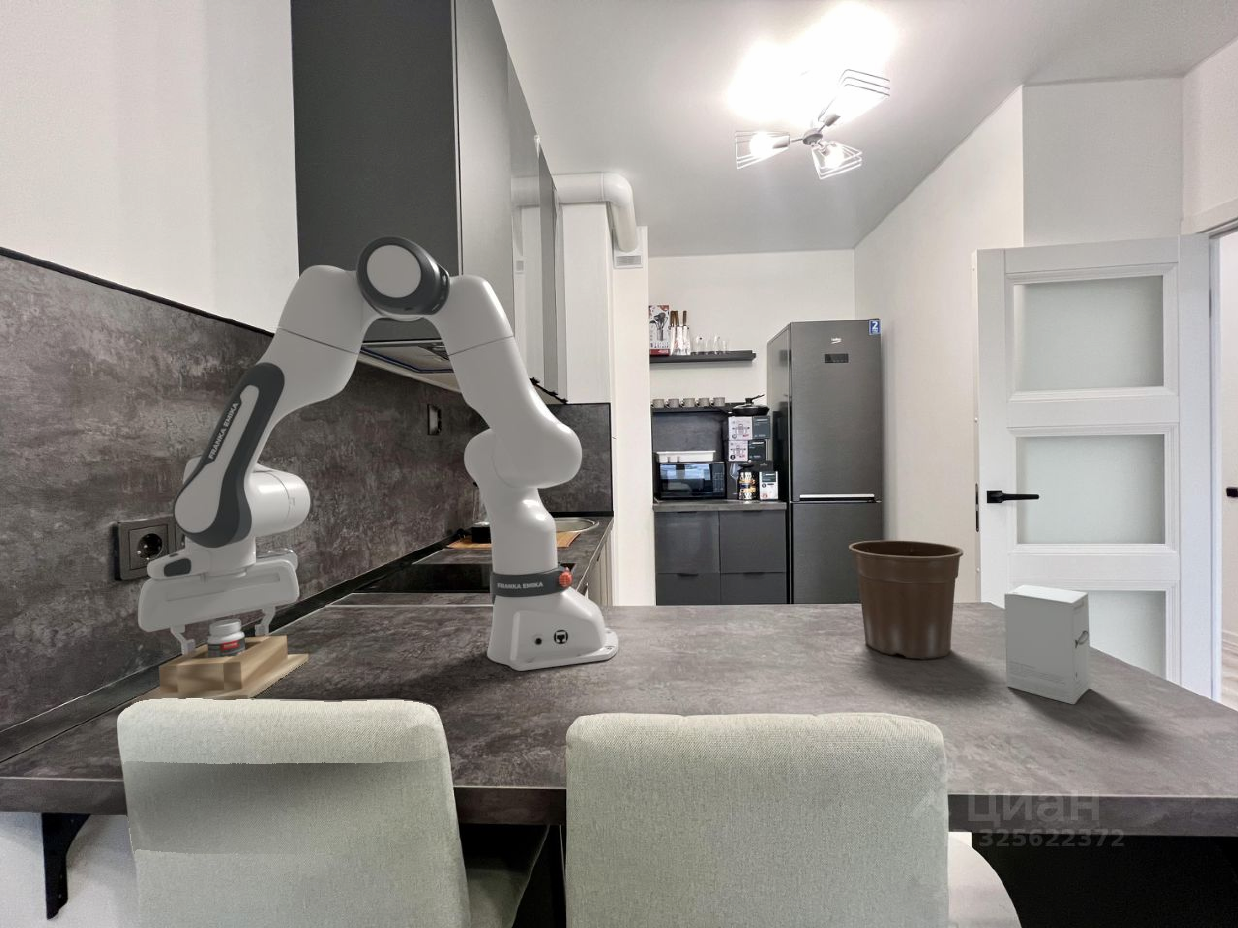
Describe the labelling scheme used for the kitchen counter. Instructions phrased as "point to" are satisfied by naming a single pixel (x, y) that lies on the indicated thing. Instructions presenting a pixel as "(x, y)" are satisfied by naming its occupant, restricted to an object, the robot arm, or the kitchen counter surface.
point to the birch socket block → (227, 672)
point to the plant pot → (907, 595)
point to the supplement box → (1047, 642)
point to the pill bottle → (226, 639)
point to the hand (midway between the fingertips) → (226, 644)
